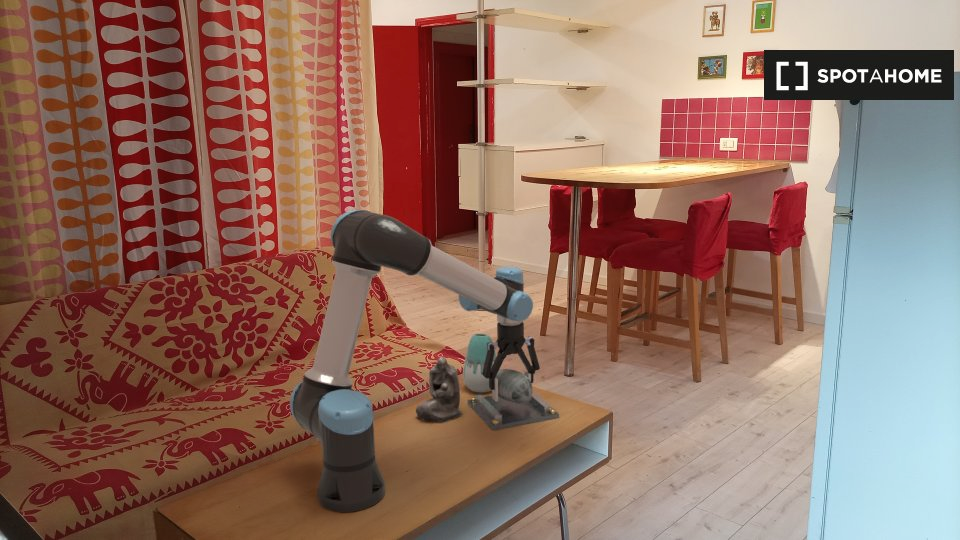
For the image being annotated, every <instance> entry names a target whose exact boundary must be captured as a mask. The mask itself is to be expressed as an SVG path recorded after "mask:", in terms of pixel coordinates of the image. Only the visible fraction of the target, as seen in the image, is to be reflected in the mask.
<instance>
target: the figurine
mask: <svg viewBox="0 0 960 540" xmlns="http://www.w3.org/2000/svg"><path fill="white" fill-rule="evenodd" d="M428 374H429V376H428V377H429V379H428V380H429V381H428V382H429V389H428V390H429V394H430V396H431V398H429V399H426V400H423V401H422V402H420V403H419V404H418V405H417V406H416V408H415V413H416V416H417V418H418V419H420V420H423V421H425V422H429V423H431V422H432V423H445V422H448V421H449V420H453V419H456V418H459V417H460V416H461V415H463V412H462V410H461V409H459V408H460V402H461V396H460V395H461V394H460V393H461V389H460V387H461V386H460V380H459V376H458V375H459V373H458V369H456V367H455V366H453V365H451V364H449V363H448V361H447V358H446V357H444V356H440V357H439V358H438V359H437V361H435V364H434V366H432V367H431V368H430V370H429V373H428Z"/></svg>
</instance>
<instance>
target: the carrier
mask: <svg viewBox="0 0 960 540" xmlns="http://www.w3.org/2000/svg"><path fill="white" fill-rule="evenodd" d="M467 405H468V406H470V407H471V409H472V410H473V411H474V412H475V413H476V414H477V416H479V418H481V419H482V420H483V421H484V422H485V424H486V425H487V426H488V427H489V428H490V429H491V430H492V431H497V430H501V429H508V428H512V427H517V426H518V427H519V426H523V425H528V424H531V423H533V422H534V423H539V422H543V421H549V420H553V419H558V418H560V413H559V412H558V411H557V409H556V408H554V407H552V405H551V404H549V403H548V402H547V401H546V400H545V399H543V398H542V397H541V396H539V394H537V393H536V392H535V391H533V393H532V397H531V399H530V401H529V402H527V403H514V402H511V401H508V400H505V399H502V398H501V397H499V396H498V401H495V400H494V399H493V398H492V395H488V396H483V395H482V394H477V395H476V394H475V395H474V396H471V397H469V399H467Z"/></svg>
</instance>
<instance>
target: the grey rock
mask: <svg viewBox="0 0 960 540" xmlns="http://www.w3.org/2000/svg"><path fill="white" fill-rule="evenodd" d="M496 378H497V379H498V396H499V397H501V398H502V399H505V400H508V401H511V402H514V403H527V402H529V401H530V399H531V397H532V393H533V392H534V391H533V383H531V381H530V379H529V378H528V377H527V376H526V375H525V373H522V372H520V371H519V370H515V369H510V368H502V369H501V368H500V370H499V371H498V373H497V375H496Z"/></svg>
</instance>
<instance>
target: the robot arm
mask: <svg viewBox="0 0 960 540" xmlns="http://www.w3.org/2000/svg"><path fill="white" fill-rule="evenodd" d="M330 243H331V244H332V246H333V248H334V251H333V255H332V259H331V263H332V264H333V266H334V267H335V269H336V270H335V275H334V279H333V283H332V287H331V292H330V295H329V299H328V303H327V307H326V312H325V315H324V320H323V324H322V328H321V332H320V336H319V340H318V345H317V348H316V353H315V357H314V361H313V364H312V365H313V366H312V367H311V368H310V369H308V370H306V371H305V372H304V374H303V378H302V380H301V381H300V383H299V384H296V386H295V387H294V388H293V390H292V393H291V395H290V398H289V408H290V409H289V410H290V412H291V415H292V417H293V418H294V420H295V421H296V422H297V424H298V425H299V426H300V427H302V429H304V430H306V431H308V432H309V433H310V434H311V435H312V436H314V437H315V438H316V439H317V440H318V441H320V443H321V453H322V462H323V463H322V464H323V468H322V470H321V475H320V479H319V482H318V486H317V501H318V503H319V504H320V506H321V507H323V508H325V509H327V510H329V511H331V512H340V513H350V512H358V511H362V510H366V509H368V508H371V507H372V506H375V505H376V504H378V503H379V502H380V501H381V500H382V499H384V496H385V494H386V482H385V479H384V476H383V475H382V472H381V470H380V468H379V464H378V462H377V461H376V460H377V459H376V445H375V430H374V429H375V426H374V410H373V405H372V402H371V400H370V398H369V396H367V395H366V394H365V393H363V392H361V391H358V390H352V388H353V383H354V382H353V380H352V379H351V377H350V376H349V373H350V368H351V366H352V361H353V356H354V352H355V348H356V345H357V340H358V336H359V331H360V328H361V324H362V321H363V320H362V319H363V317H364V312H365V307H366V303H367V300H368V294H369V291H370V288H371V284H372V279H373V278H374V277H375V276H377V275H378V274H381V273H380V272H381V269H382V267H384V268H387V269H392V270H394V271H398V272H401V273H403V274H405V275H407V276H410V277H412V276H416V275H417V276H420V277H422V278H423V279H425V280H428V281H430V282H432V283H434V284H436V285H437V286H440V287H442V288H444V289H446V290H449V291H450V292H452V293H454V294H456V295H458V301H459V304H460V306H461V308H462V309H463V310H464V311H467V312H471V311H472V312H473V311H474V312H476V311H478V310H482V311H485V312H487V313H491V314H494V315H496V321H497V324H496V329H497V330H496V334H497V339H496V341H495V342H493V343H490V342H488V343H487V355H486V359H485V364H484V368H483V373H482V375H483V376H484V377H485V378H486V379H489V388H490V389H491V390H492V391H491V396H492V398H493V399H494V400H495V401H498V379H497V378H496V375H497V373H498V371H499V369H500V370H501V367H502V365H503V362H504V360H505V359H507V356H510V355H518V357H519V358H520V360H521V362H522V364H523V365H524V367H525V369H526V370H525V371H524V375H526V376H527V377H528V378H529V379H530V381H531V384H534V381H535V380H534V379H535V378H534V376H535V374H536V371H539V370H540V368H541V367H540V363H539V359H538V356H537V353H536V352H537V351H536V349H535V339H534V338H533V337H532V336H529V335H528V336H527V337H525V323H524V321H526V320H527V319H528V318H529V317H530V316H531V313H532V311H533V308H534V302H533V299H532V297H531V295H529V294H528V293H526V292H524V291H525V290H524V288H525V287H524V285H525V281H524V274H523V273H524V272H523V270H522V269H521V268H519V267H517V266H502V267H499V268H497V269H496V270H495V277H492V276H490V275H488V274H487V273H484V272H483V271H480V270H479V269H477V268H475V267H473V266H471V265H470V264H468V263H466V262H464V261H462V260H460V259H459V258H457V257H454V256H453V255H451V254H449V253H446V251H443V250H441V249H440V248H438V247H436V246H433V245H432V242H431V239H429V238H428V237H426V236H424V235H423V234H422V233H419V232H418V231H416V230H414V229H413V228H411V227H410V226H408V225H406V224H405V223H403V222H402V221H400V220H399V219H396V218H394V217H393V216H389V215H386V214H381V213H376V212H372V211H368V210H364V209H359V210H358V209H354V210H349V211H346V212H344V213H342V214H341V215H339V217H337V219H336V220H335V221H334V223H333V224H332V227H331V229H330ZM524 345H526V348H527V351H528V355H529V357H530V358H529V359H530V361H529V359H528V358H527V356H526V353H525V351H524V349H523V346H524ZM497 347H498V350H497ZM494 351H495V352H496V351H497V353H496V356H497V357H496V359H495V361H494V363H493V365H492V362H493V358H494ZM491 367H492V368H491Z"/></svg>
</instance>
